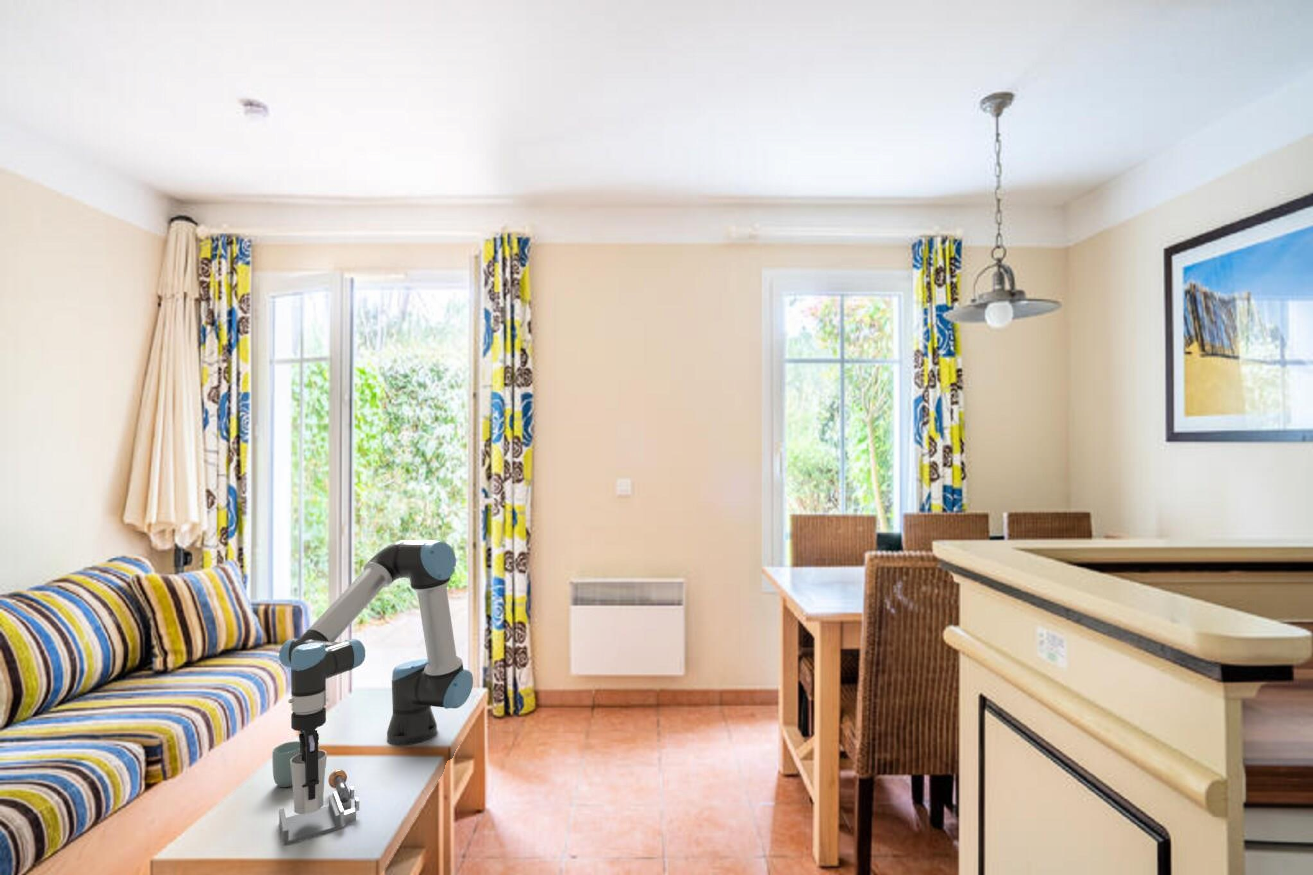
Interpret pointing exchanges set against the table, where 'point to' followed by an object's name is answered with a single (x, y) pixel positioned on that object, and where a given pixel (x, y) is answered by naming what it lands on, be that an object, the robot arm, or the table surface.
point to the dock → (309, 823)
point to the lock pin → (340, 784)
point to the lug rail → (347, 807)
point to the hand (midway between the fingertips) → (309, 804)
